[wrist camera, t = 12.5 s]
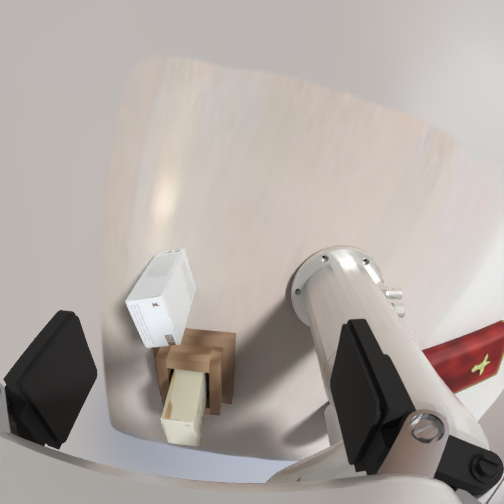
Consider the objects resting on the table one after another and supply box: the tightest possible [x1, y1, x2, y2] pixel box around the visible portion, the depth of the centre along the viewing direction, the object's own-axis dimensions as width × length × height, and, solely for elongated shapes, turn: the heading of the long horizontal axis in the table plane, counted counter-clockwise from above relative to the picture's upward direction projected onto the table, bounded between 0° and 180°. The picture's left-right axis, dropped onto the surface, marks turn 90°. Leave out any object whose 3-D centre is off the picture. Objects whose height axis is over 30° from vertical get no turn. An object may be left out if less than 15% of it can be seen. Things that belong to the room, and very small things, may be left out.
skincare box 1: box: [125, 248, 196, 348], centre depth 34 cm, size 6×4×12 cm
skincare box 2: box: [160, 369, 209, 447], centre depth 38 cm, size 6×4×12 cm
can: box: [324, 404, 343, 446], centre depth 44 cm, size 8×8×12 cm
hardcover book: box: [422, 320, 504, 394], centre depth 44 cm, size 12×21×4 cm, turn 102°
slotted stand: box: [153, 328, 236, 415], centre depth 43 cm, size 12×14×6 cm
